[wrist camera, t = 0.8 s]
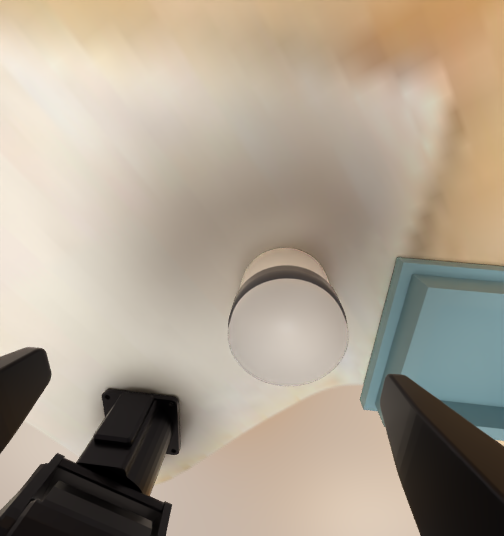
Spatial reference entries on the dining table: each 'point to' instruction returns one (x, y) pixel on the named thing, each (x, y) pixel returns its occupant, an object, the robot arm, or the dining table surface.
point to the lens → (287, 320)
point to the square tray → (444, 338)
